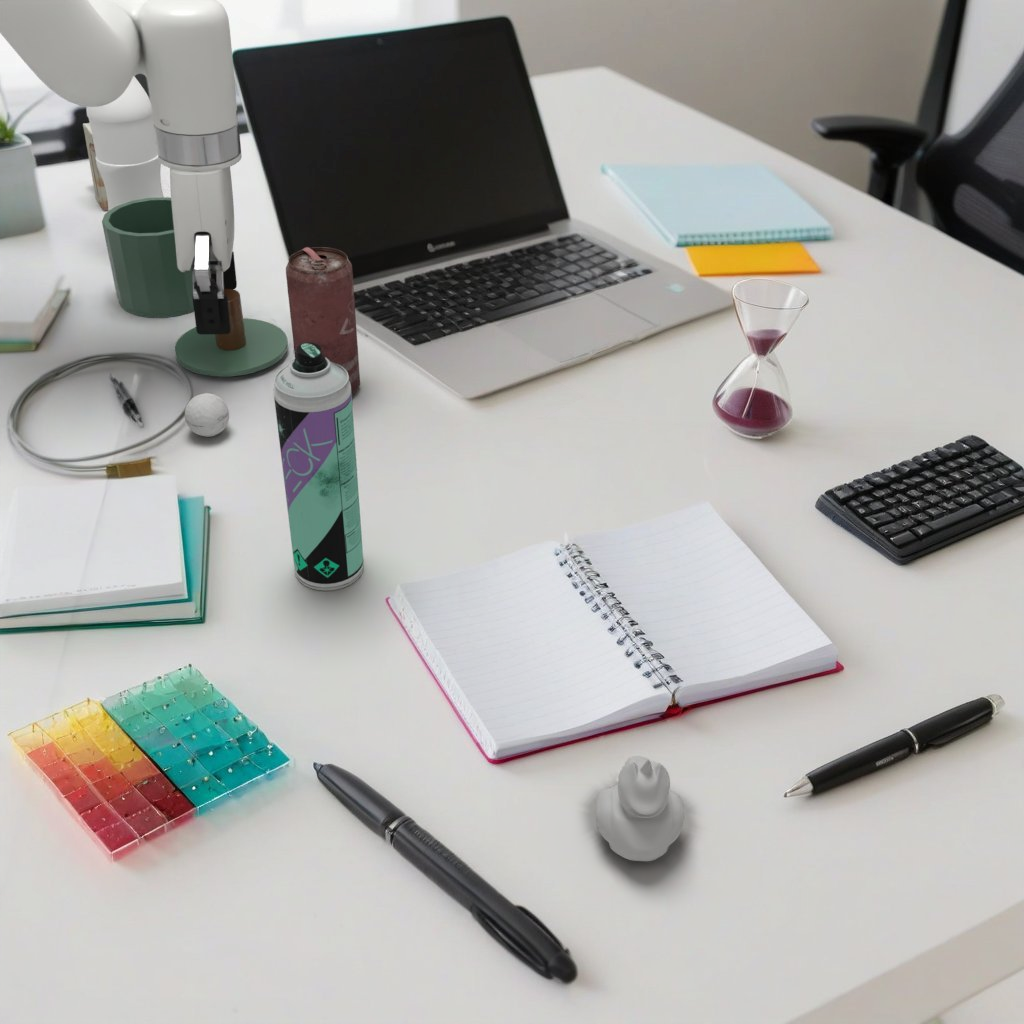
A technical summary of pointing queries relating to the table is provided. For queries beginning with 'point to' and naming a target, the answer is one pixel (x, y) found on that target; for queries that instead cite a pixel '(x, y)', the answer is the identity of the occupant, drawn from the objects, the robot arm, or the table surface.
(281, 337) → the tin lid
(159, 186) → the water bottle
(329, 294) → the can
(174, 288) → the tin
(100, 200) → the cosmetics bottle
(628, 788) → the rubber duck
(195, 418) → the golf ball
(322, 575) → the spray can
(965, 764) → the table surface
